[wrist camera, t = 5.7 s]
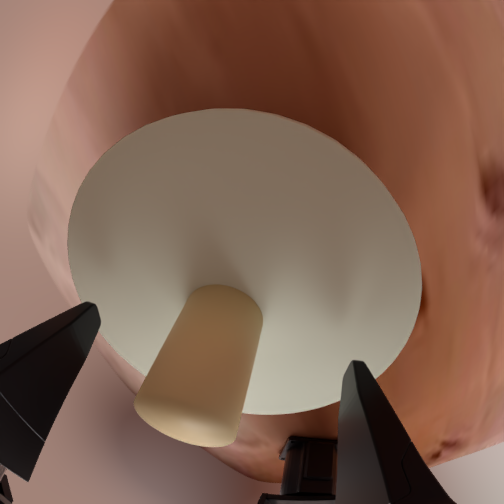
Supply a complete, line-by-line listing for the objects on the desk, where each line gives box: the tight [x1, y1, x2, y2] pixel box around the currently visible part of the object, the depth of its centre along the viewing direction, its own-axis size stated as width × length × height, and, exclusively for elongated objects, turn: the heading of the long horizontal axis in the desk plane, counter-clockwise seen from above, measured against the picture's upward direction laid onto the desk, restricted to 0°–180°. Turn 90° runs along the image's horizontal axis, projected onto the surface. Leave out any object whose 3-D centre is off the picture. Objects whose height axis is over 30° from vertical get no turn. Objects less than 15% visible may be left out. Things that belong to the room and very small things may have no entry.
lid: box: [67, 108, 422, 447], centre depth 10 cm, size 14×14×7 cm
